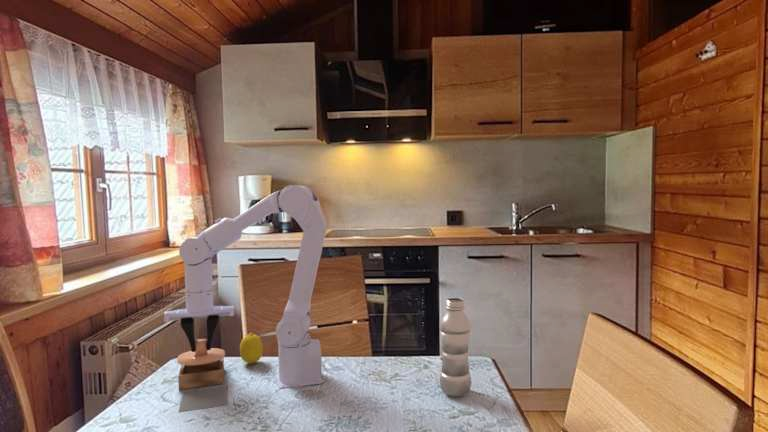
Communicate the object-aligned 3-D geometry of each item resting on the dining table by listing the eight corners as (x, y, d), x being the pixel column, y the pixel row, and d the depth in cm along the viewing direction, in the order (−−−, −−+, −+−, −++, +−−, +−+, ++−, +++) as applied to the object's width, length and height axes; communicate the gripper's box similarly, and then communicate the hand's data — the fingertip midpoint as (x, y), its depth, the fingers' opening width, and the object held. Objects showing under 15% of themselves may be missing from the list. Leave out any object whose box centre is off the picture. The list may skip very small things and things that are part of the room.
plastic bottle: (477, 392, 97) (477, 299, 96) (459, 404, 92) (459, 305, 91) (451, 384, 101) (451, 294, 100) (433, 394, 96) (432, 300, 95)
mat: (227, 388, 101) (227, 386, 101) (227, 406, 92) (227, 404, 92) (183, 394, 98) (183, 392, 98) (178, 414, 89) (178, 412, 89)
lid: (225, 349, 110) (224, 332, 110) (224, 361, 101) (223, 343, 101) (180, 354, 107) (179, 337, 107) (174, 367, 97) (173, 349, 97)
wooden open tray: (224, 370, 110) (223, 356, 110) (223, 385, 102) (222, 370, 101) (183, 375, 107) (182, 361, 107) (178, 391, 99) (178, 376, 99)
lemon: (257, 369, 110) (256, 337, 110) (235, 368, 112) (234, 336, 111) (267, 361, 116) (266, 330, 115) (247, 359, 117) (246, 329, 116)
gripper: (233, 284, 109) (235, 340, 110) (166, 289, 105) (168, 347, 106) (233, 290, 103) (235, 350, 103) (161, 295, 98) (164, 358, 99)
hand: (201, 349), depth 104 cm, fingers closed on lid, 3 cm apart
